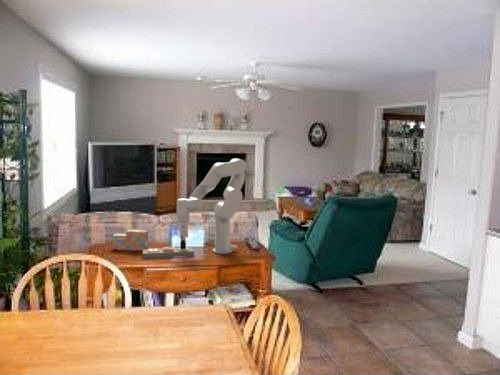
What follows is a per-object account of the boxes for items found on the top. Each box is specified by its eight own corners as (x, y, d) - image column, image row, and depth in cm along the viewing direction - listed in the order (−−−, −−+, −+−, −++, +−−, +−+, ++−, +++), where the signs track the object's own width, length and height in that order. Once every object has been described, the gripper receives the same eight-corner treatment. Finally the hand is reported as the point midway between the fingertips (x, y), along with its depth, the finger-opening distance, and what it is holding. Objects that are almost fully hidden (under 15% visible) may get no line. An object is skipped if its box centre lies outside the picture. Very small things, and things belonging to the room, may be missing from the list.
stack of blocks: (112, 249, 282) (111, 230, 280) (116, 247, 288) (115, 228, 286) (145, 251, 279) (144, 232, 278) (148, 248, 286) (148, 229, 284)
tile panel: (192, 251, 278) (192, 247, 278) (193, 256, 269) (193, 251, 268) (143, 254, 272) (143, 249, 271) (142, 258, 262) (142, 253, 262)
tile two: (187, 251, 275) (187, 246, 275) (188, 253, 270) (188, 249, 270) (178, 251, 274) (178, 247, 274) (178, 253, 269) (178, 249, 268)
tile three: (172, 250, 273) (172, 246, 273) (173, 252, 268) (173, 248, 268) (163, 250, 272) (163, 246, 272) (163, 253, 267) (163, 249, 266)
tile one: (157, 252, 271) (157, 248, 271) (158, 254, 266) (158, 250, 266) (148, 252, 270) (148, 248, 270) (148, 255, 265) (148, 250, 264)
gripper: (190, 220, 263) (190, 251, 265) (188, 216, 278) (188, 245, 280) (177, 221, 262) (177, 251, 264) (176, 216, 276) (176, 245, 278)
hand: (183, 248), depth 272 cm, fingers closed
